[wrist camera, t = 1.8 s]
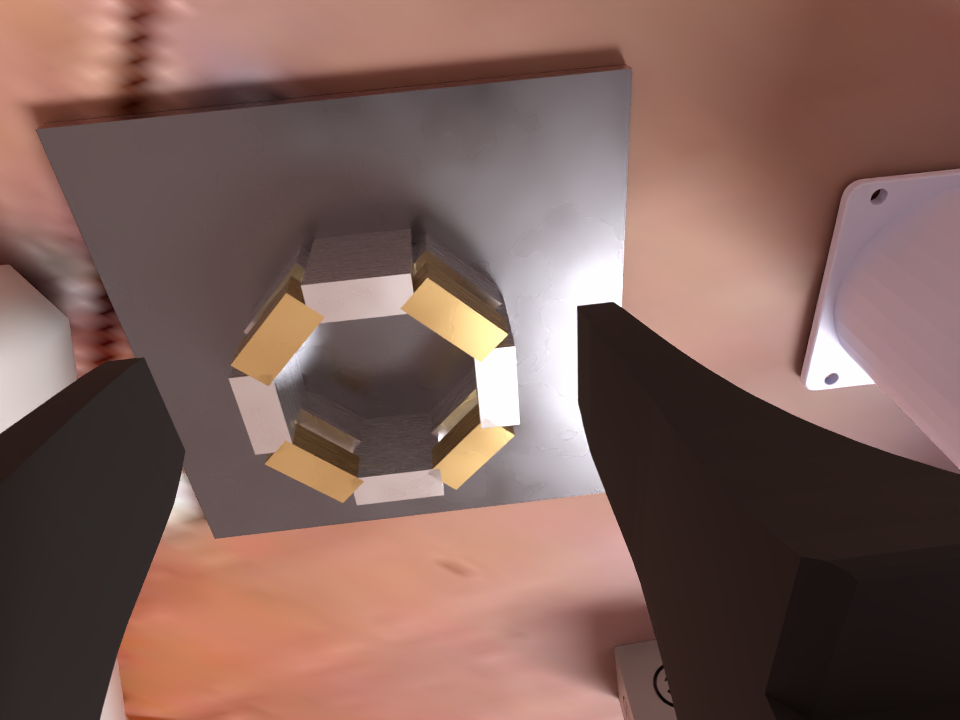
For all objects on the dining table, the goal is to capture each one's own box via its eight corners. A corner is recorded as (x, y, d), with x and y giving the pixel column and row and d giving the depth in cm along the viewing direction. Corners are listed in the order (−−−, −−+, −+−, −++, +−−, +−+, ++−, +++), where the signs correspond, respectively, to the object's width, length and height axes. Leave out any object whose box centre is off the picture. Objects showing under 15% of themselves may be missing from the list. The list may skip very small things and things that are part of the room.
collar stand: (626, 64, 19) (666, 94, 16) (609, 481, 28) (633, 550, 25) (45, 123, 18) (-25, 165, 15) (218, 527, 27) (194, 602, 24)
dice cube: (708, 682, 37) (746, 779, 33) (618, 697, 37) (644, 796, 33) (711, 628, 34) (752, 727, 30) (613, 645, 35) (641, 746, 30)
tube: (-241, 284, 17) (-34, 792, 30) (-50, 346, 16) (75, 836, 29) (-47, 218, 21) (58, 684, 34) (107, 265, 21) (154, 720, 34)
